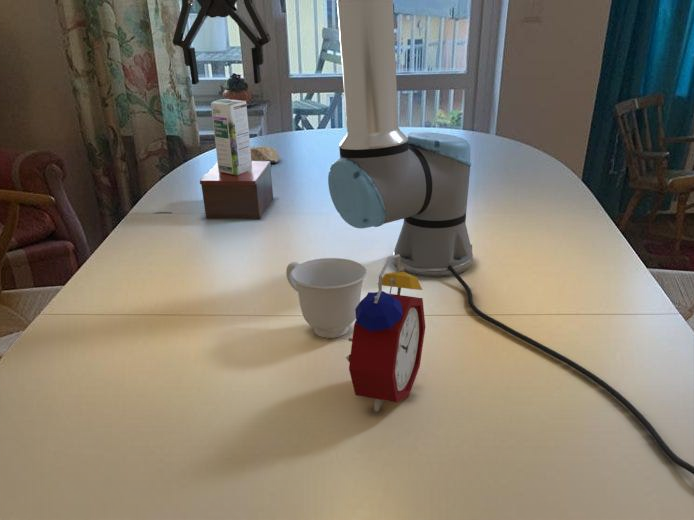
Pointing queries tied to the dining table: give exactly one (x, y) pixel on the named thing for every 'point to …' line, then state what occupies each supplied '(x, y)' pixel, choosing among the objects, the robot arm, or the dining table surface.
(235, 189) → the chest
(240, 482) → the dining table surface
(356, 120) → the robot arm
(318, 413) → the dining table surface
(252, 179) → the lid
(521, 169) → the dining table surface
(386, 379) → the alarm clock
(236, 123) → the syrup box
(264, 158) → the stone
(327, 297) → the teacup
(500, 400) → the dining table surface
